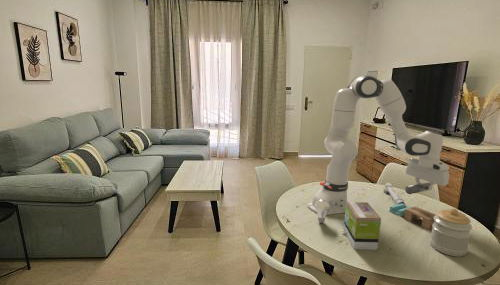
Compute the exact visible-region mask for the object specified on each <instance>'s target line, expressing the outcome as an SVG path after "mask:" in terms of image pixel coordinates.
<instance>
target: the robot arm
mask: <svg viewBox="0 0 500 285" xmlns="http://www.w3.org/2000/svg"><path fill="white" fill-rule="evenodd" d="M371 98H374V99H375V100H376V101H377V103H378V106H379V107H380V110H381V111H382V113H383V114H384V116H385V117H386V119H387V121H388V122H389V125H390V126H391V130H392V131H393V134H394V143H395V146H396V148H397V150H399V151H401V152H403V153H406V154H407V155H409V156H413V157H418V159H417V158H413V157H412V158H409V159H408V161H407V166H406V169H405V174H406V175H408V176H411V177H414V178H415V182H416V184H415V185H417V184H422V183H421V182H420V181H421V180H422V181H426V182H428V183H430V184H431V185H430V186H427V190H428V191H431V190H432V189H433V187H434V186H435V185H437V186H441V187H443V186H447V185H448V184H449V182H450V181H449V180H450V171H449V170H450V166H449V165H448V164H447V163H445V162H443V161H441V160H440V159H441V152H442V149H443V144H444V143H443V142H444V138H443V135H442V134H441V133H439V132H436V131H433V130H425V131H424V132H422V133H420V134H417V135H413V134H412V133H410V132H409V130H408V129H407V127H406V125H405V122H404V119H403V114H404V113H405V112H406V110H407V105H406V101H405V99H404V96H403V95H402V92H401V91H400V89H399V87H398V86H397V85H396V84H395V82H394V81H393V80H392V79H389V78H388V79H386V78H385V79H382V80H379V79H377V78H376V77H374V76H372V75H366V74H365V75H363V74H362V75H358V76H356V77H354V78H353V80H352V81H351V82H350V83H349V85H348V86H347V88H346V87H345V88H340V89H339V90H337V92H336V94H335V97H334V101H333V107H332V115H331V123H330V124H331V125H330V128H329V129H328V134H327V136H326V137H325V138H324V140H323V145H324V148H325V149H326V151H327V152H328V153H329V154H331V160H330V163H329V164H328V165H327V168H326V177H325V178H326V179H325V181H320V182H319V186H322V187H321V188H320V189H319V190H318V191H317V192H315V194H314V195H313V196H312V200H311V202H308V203H307V207H308V209H310V210H311V211H312V212H315V213H316V214H317V211H316V209H315V204H316V202H317V201H318V200H320V199H324V200H326V201H327V202H328V203H329V205H330V210H329V212H328V213H327V214H326V216H330V215H336V214H345V210H346V202H348V188H349V182H348V181H349V180H348V179H349V171H350V168H351V167H350V166H351V164H352V161H353V160H355V159H356V158H357V156H358V153H359V149H358V146H357V145H356V144H355V143H354V142H353V141H352V140H350V139H349V138H348V136H349V134H350V131H351V130H352V129H353V128H354V123H355V116H356V107H357V103H358V101H359V100H360V99H371ZM431 188H432V189H431Z"/></svg>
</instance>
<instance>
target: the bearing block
mask: <svg viewBox="0 0 500 285" xmlns="http://www.w3.org/2000/svg"><path fill="white" fill-rule="evenodd" d="M411 207H412V208H408V209H406V210H405V215H404V217H403V219H404V220H405V221H407V222H410V223H412V222H415V221H418V220H421V219H422V220H421V227H420V228H422V229H424V230H427V231H431V230H432V227H433V226H432V225H433V223H434V222H435V221H434V216H436V215H437V214H435V213H433V212H431V211H428V210H425V209H423V208H421V207H418V206H416V205H415V206H411Z"/></svg>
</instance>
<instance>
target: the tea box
mask: <svg viewBox="0 0 500 285" xmlns="http://www.w3.org/2000/svg"><path fill="white" fill-rule="evenodd" d="M381 223H382V217H381V216H380V215H379V214H378V213H377V212H376V211H375V209H374V208H373V207H372V206H371V205H370V204H369V203H368V202H365V201H364V202H362V201H360V202H357V201H356V202H354V201H351V202H349V201H347V202H346V210H345V213H344V225H343V231H344V234H345V235H346V237H347V239H348V241H349V242H350V245H351V246H352V248H353V250H366V251H367V250H368V251H377V250H378V247H379V239H380V238H379V237H380V229H381Z"/></svg>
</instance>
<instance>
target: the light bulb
mask: <svg viewBox="0 0 500 285" xmlns="http://www.w3.org/2000/svg"><path fill="white" fill-rule="evenodd" d="M315 209H316V211H317V213H316V214H317V221H318V222H319V224H323V223H325V221H326V220H325V219H326V216H327V215H326V214H327V213H328V212H329V210H330V205H329V203H328V202H327V201H326V200H324V199H320V200H318V201H317V202H316V204H315Z"/></svg>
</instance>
